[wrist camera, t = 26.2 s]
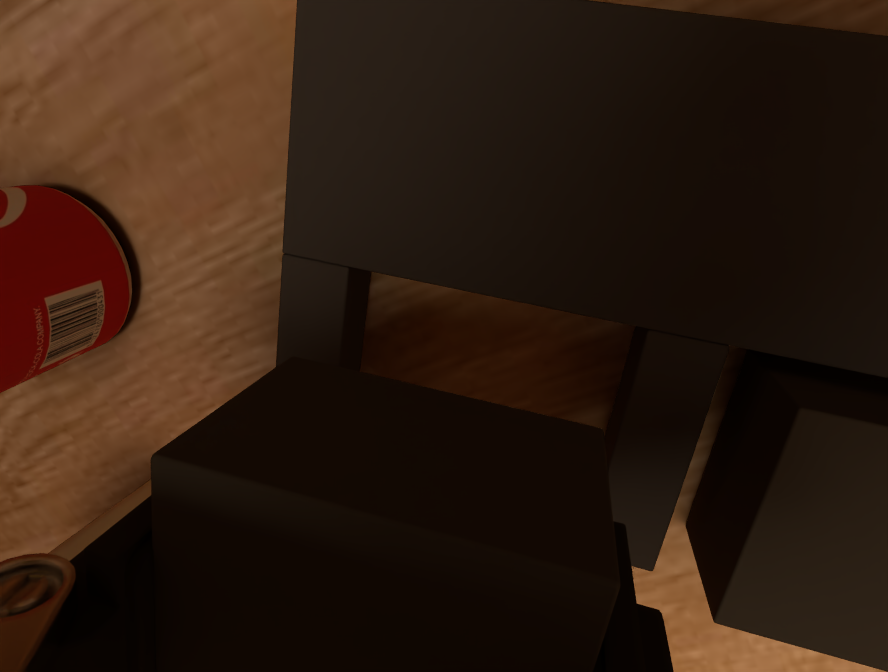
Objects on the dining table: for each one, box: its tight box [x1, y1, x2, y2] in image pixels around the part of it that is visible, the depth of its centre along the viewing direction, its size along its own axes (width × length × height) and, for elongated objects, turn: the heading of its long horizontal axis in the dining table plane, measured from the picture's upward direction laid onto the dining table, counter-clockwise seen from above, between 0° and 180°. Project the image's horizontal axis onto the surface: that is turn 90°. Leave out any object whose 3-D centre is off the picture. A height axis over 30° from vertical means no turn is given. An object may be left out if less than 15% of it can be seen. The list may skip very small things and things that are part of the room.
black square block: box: [151, 356, 620, 672], centre depth 10 cm, size 6×6×4 cm
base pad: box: [276, 0, 888, 571], centre depth 15 cm, size 22×14×2 cm, turn 81°
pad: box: [686, 350, 888, 672], centre depth 14 cm, size 6×6×4 cm
